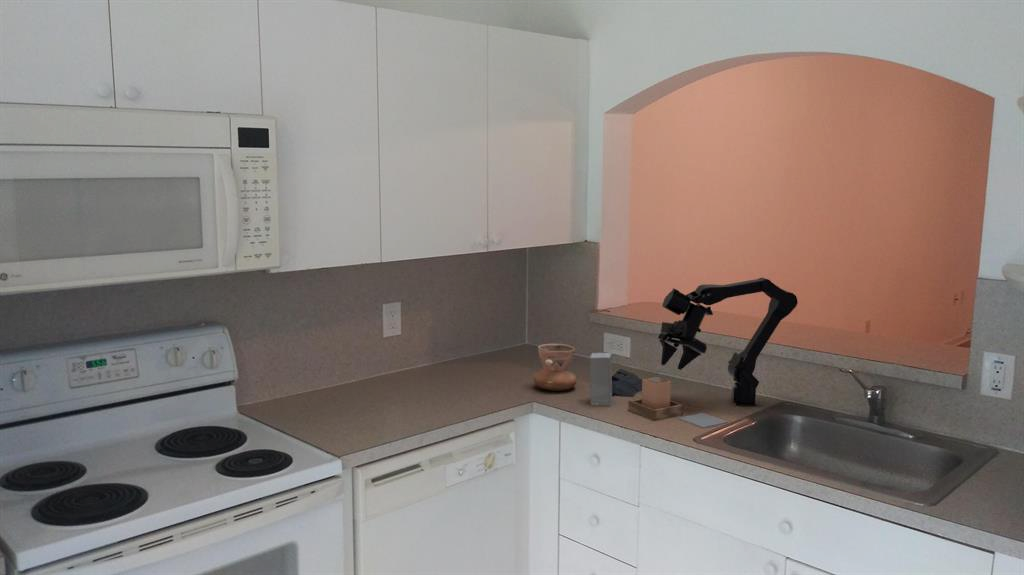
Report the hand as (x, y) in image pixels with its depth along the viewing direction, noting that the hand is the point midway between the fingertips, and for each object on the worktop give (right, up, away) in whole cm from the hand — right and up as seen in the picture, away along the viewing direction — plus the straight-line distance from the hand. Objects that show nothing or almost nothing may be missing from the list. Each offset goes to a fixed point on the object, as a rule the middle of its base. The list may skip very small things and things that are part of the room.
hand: (670, 367), depth 248 cm
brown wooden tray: (-6, -14, -5) cm, 16 cm away
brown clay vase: (-34, -10, +23) cm, 43 cm away
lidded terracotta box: (-6, -13, -5) cm, 15 cm away
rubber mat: (+7, -15, -12) cm, 21 cm away
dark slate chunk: (-12, -10, +23) cm, 28 cm away
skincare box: (-21, -12, +6) cm, 25 cm away
